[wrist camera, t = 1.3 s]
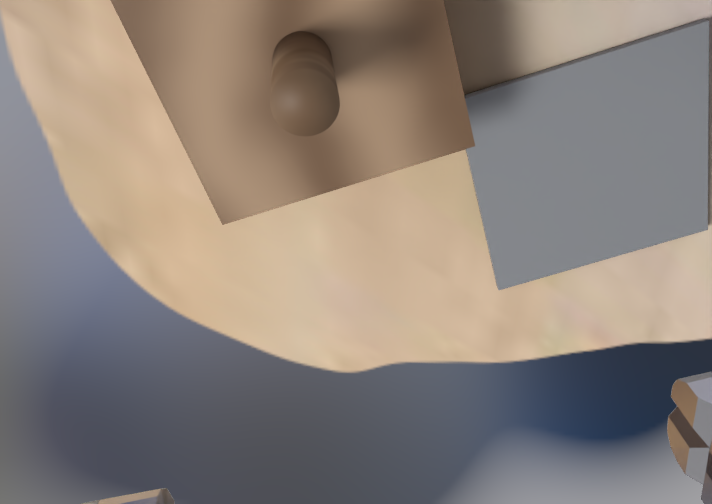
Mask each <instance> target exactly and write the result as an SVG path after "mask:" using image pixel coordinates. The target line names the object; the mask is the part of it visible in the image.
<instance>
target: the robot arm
mask: <svg viewBox="0 0 712 504" xmlns="http://www.w3.org/2000/svg"><path fill="white" fill-rule="evenodd" d="M671 398H672V399H673V400H674V402H675V403H676V405H677V407H676V408H675V409H674V411H673V412H672V413H671V414H670V415H669V416H668V426H667V433H668V437H669V442H670V446H671V449H672V451H673V454H674V456H675V458H676V460H677V462H678V464H679V465H680V467H681V468H682V470H683V472H684V473H685V474H686V475H687V476H689V477H691V478H692V479H694V480H696V481H698V482H700V483H701V484H703V488H702V495H701V500H702V501H703V503H704V504H712V372H708V373H703V374H699V375H695V376H690V377H685V378H681V379H677V380H676V381H675V383H674V384H673V386H672V393H671ZM82 504H174V499H173V498H172V496H171V494H170V493H169V491H168V489H167V488H163V489H157V490H152V491H146V492H140V493H135V494H130V495H124V496H118V497H113V498H107V499H102V500H98V501H93V502H88V503H82Z"/></svg>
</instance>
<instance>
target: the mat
mask: <svg viewBox="0 0 712 504" xmlns="http://www.w3.org/2000/svg"><path fill="white" fill-rule="evenodd" d="M464 96H465V101H466V106H467V110H468V115H469V119H470V124H471V129H472V133H473V138H474V142H475V146H474V147H471V148H468V149H466V152H467V156H468V160H469V165H470V169H471V174H472V178H473V182H474V187H475V191H476V196H477V200H478V204H479V209H480V213H481V218H482V222H483V226H484V231H485V235H486V240H487V244H488V248H489V253H490V257H491V262H492V266H493V270H494V275H495V279H496V283H497V287H498V289H499V290H501V289H505V288H508V287H512V286H515V285H519V284H522V283H526V282H529V281H533V280H536V279H539V278H543V277H546V276H550V275H553V274H557V273H560V272H564V271H567V270H570V269H574V268H577V267H581V266H584V265H588V264H591V263H595V262H598V261H601V260H605V259H608V258H612V257H615V256H619V255H622V254H626V253H629V252H632V251H636V250H639V249H643V248H646V247H650V246H653V245H657V244H660V243H664V242H667V241H670V240H674V239H677V238H681V237H684V236H688V235H691V234H695V233H698V232H701V231H705V230H708V112H709V20H707V19H702V20H698V21H695V22H692V23H689V24H686V25H683V26H680V27H677V28H673V29H670V30H667V31H664V32H661V33H658V34H655V35H652V36H648V37H645V38H642V39H639V40H636V41H633V42H630V43H626V44H623V45H620V46H617V47H614V48H611V49H608V50H605V51H601V52H598V53H595V54H592V55H589V56H586V57H583V58H580V59H576V60H573V61H570V62H567V63H564V64H561V65H558V66H554V67H551V68H548V69H545V70H542V71H539V72H536V73H533V74H529V75H526V76H523V77H520V78H517V79H514V80H511V81H507V82H504V83H501V84H498V85H495V86H492V87H489V88H486V89H482V90H479V91H476V92H473V93H470V94H467V95H464Z"/></svg>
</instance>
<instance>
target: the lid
mask: <svg viewBox="0 0 712 504" xmlns="http://www.w3.org/2000/svg"><path fill="white" fill-rule="evenodd" d="M111 2H112V4H113V6H114V8H115V10H116V12H117V14H118V16H119V18H120V20H121V22H122V24H123V26H124V28H125V30H126V32H127V34H128V36H129V38H130V40H131V42H132V44H133V46H134V48H135V50H136V52H137V54H138V56H139V58H140V60H141V62H142V64H143V66H144V68H145V70H146V72H147V74H148V76H149V78H150V80H151V82H152V84H153V86H154V88H155V90H156V92H157V94H158V96H159V98H160V100H161V102H162V104H163V106H164V108H165V110H166V112H167V114H168V116H169V118H170V120H171V122H172V124H173V126H174V128H175V130H176V132H177V134H178V136H179V138H180V140H181V142H182V144H183V146H184V148H185V150H186V152H187V154H188V156H189V158H190V160H191V162H192V164H193V166H194V168H195V170H196V172H197V174H198V177H199V179H200V181H201V183H202V185H203V187H204V189H205V191H206V193H207V195H208V197H209V199H210V201H211V203H212V205H213V207H214V209H215V211H216V213H217V215H218V217H219V219H220V221H221V223H222V225H224V224H227V223H230V222H233V221H237V220H240V219H243V218H246V217H249V216H253V215H256V214H259V213H262V212H265V211H269V210H272V209H275V208H278V207H282V206H285V205H288V204H291V203H294V202H298V201H301V200H304V199H307V198H310V197H314V196H317V195H320V194H323V193H326V192H330V191H333V190H336V189H339V188H342V187H346V186H349V185H352V184H355V183H359V182H362V181H365V180H368V179H371V178H375V177H378V176H381V175H384V174H387V173H391V172H394V171H397V170H400V169H403V168H407V167H410V166H413V165H416V164H420V163H423V162H426V161H429V160H432V159H436V158H439V157H442V156H445V155H448V154H452V153H455V152H458V151H461V150H464V149H468V148H471V147H474V146H475V142H474V138H473V133H472V129H471V124H470V119H469V115H468V110H467V106H466V101H465V96H464V92H463V87H462V83H461V78H460V74H459V69H458V64H457V60H456V55H455V51H454V46H453V41H452V37H451V32H450V28H449V23H448V18H447V14H446V9H445V5H444V0H111Z"/></svg>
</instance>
